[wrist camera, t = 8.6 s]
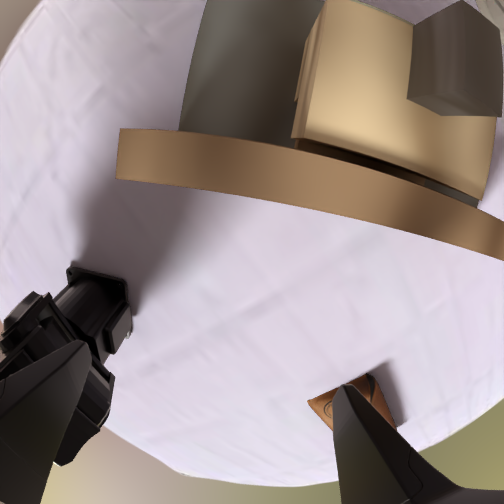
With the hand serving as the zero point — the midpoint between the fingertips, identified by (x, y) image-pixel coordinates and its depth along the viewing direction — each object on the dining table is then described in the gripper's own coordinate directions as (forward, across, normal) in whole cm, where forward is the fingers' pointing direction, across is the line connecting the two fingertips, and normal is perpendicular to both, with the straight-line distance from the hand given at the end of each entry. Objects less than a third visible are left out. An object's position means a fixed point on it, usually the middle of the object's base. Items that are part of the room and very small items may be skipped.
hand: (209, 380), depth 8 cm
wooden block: (+12, -7, -11) cm, 18 cm away
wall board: (+13, -7, -12) cm, 19 cm away
